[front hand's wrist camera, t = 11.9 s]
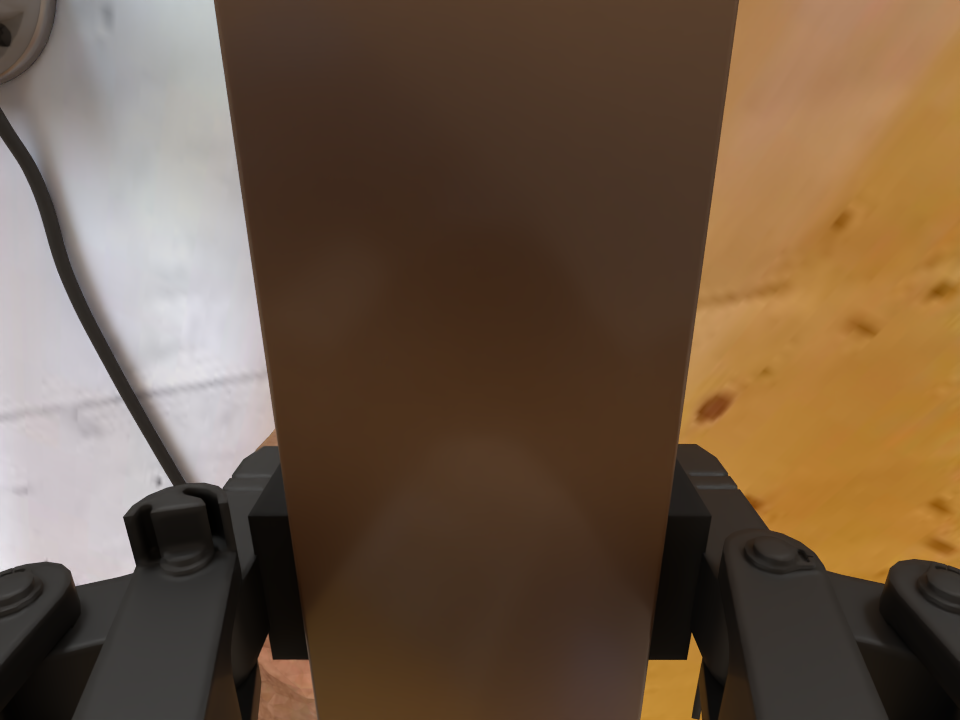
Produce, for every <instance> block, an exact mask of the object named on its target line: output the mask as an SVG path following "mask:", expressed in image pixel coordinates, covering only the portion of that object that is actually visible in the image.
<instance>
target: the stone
mask: <svg viewBox="0 0 960 720" xmlns="http://www.w3.org/2000/svg"><path fill="white" fill-rule="evenodd" d="M263 446H278V442H277V435H276V429H275V430H274V431H273V432H272V433H271V435H270V436H269V437H268V438H267V439H266V440H265V441H264V442H263V443H262V444H261V445H260V446H259V447H258V448H257V449H256V451H257V450H258V449H260V448H261V447H263ZM258 663H259V668H260V675H261V681H262V684H261V694H260V704H259V714H258V720H317V713H316V707H315V700H314V693H313V686H312V679H311V672H310V665H309V660H273V658H272V652H271V647H270V641H269V635H268V636H267V638H266V640H265V643H264V645H263V647H262V650H261V652H260V654H259V657H258Z"/></svg>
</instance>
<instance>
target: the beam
mask: <svg viewBox="0 0 960 720" xmlns="http://www.w3.org/2000/svg"><path fill="white" fill-rule="evenodd" d="M738 4H739V0H214V5H215V12H216V18H217V25H218V32H219V39H220V46H221V53H222V60H223V67H224V74H225V81H226V88H227V95H228V102H229V109H230V116H231V123H232V130H233V137H234V144H235V151H236V157H237V164H238V171H239V178H240V185H241V192H242V199H243V206H244V213H245V220H246V227H247V234H248V241H249V248H250V255H251V262H252V269H253V276H254V283H255V290H256V296H257V303H258V310H259V317H260V324H261V331H262V338H263V345H264V352H265V359H266V366H267V373H268V380H269V387H270V394H271V401H272V408H273V415H274V422H275V429H276V435H277V442H278V449H279V456H280V463H281V470H282V477H283V484H284V491H285V498H286V505H287V512H288V519H289V526H290V533H291V540H292V547H293V554H294V561H295V568H296V574H297V581H298V588H299V595H300V602H301V609H302V616H303V623H304V630H305V637H306V644H307V651H308V658H309V665H310V672H311V679H312V686H313V693H314V700H315V707H316V713H317V720H640V718H641V710H642V703H643V696H644V689H645V681H646V674H647V667H648V659H649V652H650V645H651V638H652V630H653V623H654V616H655V608H656V601H657V594H658V586H659V579H660V572H661V565H662V557H663V550H664V543H665V535H666V528H667V521H668V514H669V506H670V499H671V492H672V484H673V477H674V470H675V463H676V455H677V448H678V441H679V433H680V426H681V419H682V412H683V404H684V397H685V390H686V382H687V375H688V368H689V361H690V353H691V346H692V339H693V331H694V324H695V317H696V310H697V302H698V295H699V288H700V280H701V273H702V266H703V259H704V251H705V244H706V237H707V229H708V222H709V215H710V208H711V200H712V193H713V186H714V178H715V171H716V164H717V157H718V149H719V142H720V135H721V127H722V120H723V113H724V106H725V98H726V91H727V84H728V76H729V69H730V62H731V55H732V47H733V40H734V33H735V25H736V18H737V11H738Z"/></svg>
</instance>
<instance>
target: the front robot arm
mask: <svg viewBox="0 0 960 720" xmlns="http://www.w3.org/2000/svg"><path fill="white" fill-rule="evenodd" d="M55 9H56V0H0V84H2V83H5V82H7V81H9V80H11V79H13V78H15V77H17V76H18V75H20V74H21V73H23V72H24V71H25V70H26V69H28V68H29V67H30V66H31V65H32V64H33V63H34V61H35V60H36V59H37V58H38V56H39V55H40V53H41V52H42V50H43V48H44V47H45V45H46V43H47V40H48V38H49V36H50V33H51V29H52V26H53V22H54V16H55ZM0 136H1V138H2V139H3V141H4V142H5V144H6V145H7V147H8V148H9V150H10V151H11V153H12V154H13V156H14V157H15V159H16V160H17V162H18V163H19V165H20V167H21V168H22V170H23V172H24V174H25V176H26V178H27V181H28V183H29V185H30V187H31V190H32V192H33V194H34V197H35V200H36V202H37V205H38V208H39V211H40V214H41V218H42V221H43V225H44V228H45V232H46V236H47V239H48V243H49V246H50V250H51V253H52V256H53V259H54V262H55V265H56V268H57V271H58V273H59V276H60V278H61V281H62V283H63V285H64V288H65V290H66V292H67V294H68V297H69V299H70V301H71V303H72V305H73V307H74V309H75V311H76V313H77V315H78V317H79V319H80V321H81V323H82V325H83V327H84V329H85V331H86V333H87V335H88V337H89V338H90V340H91V342H92V344H93V346H94V348H95V349H96V351H97V353H98V355H99V357H100V359H101V360H102V362H103V364H104V366H105V368H106V370H107V372H108V373H109V375H110V377H111V379H112V381H113V383H114V384H115V386H116V388H117V390H118V392H119V393H120V395H121V397H122V399H123V401H124V402H125V404H126V406H127V408H128V409H129V411H130V413H131V414H132V416H133V418H134V420H135V421H136V423H137V425H138V427H139V428H140V430H141V432H142V433H143V435H144V437H145V438H146V440H147V442H148V444H149V445H150V447H151V449H152V450H153V452H154V454H155V456H156V457H157V459H158V461H159V462H160V464H161V466H162V467H163V469H164V471H165V472H166V474H167V476H168V477H169V479H170V481H171V482H172V484H173V487H168V488H165V489H163V490H160V491H158V492H155V493H153V494H150V495H148V496H146V497H145V498H143V499H142V500H140V501H139V502H137V503H136V504H134V505H133V506H132V507H131V508H130V509H129V511H128V512H127V513H126V514H125V515H124V517H123V518H124V522H125V526H126V530H127V533H128V537H129V541H130V544H131V548H132V552H133V556H134V559H135V563H136V568H135V570H134V573H132V574H128V575H125V576H121V577H117V578H112V579H108V580H103V581H98V582H94V583H89V584H84V585H80V586H75V584H74V581H73V578H72V575H71V571H70V570H69V569H67V568H66V567H65V566H64V565H62V564H59V563H52V562H40V563H32V564H25V565H21V566H17V567H15V568H11V569H8V570H5V571H2V572H0V720H258V714H259V704H260V694H261V684H262V681H261V675H260V668H259V663H258V657H259V654H260V652H261V650H262V647H263V645H264V643H265V640H266V638H267V636H268V635H269V641H270V647H271V652H272V658H273V660H309V658H308V651H307V644H306V637H305V630H304V623H303V616H302V609H301V602H300V595H299V588H298V581H297V574H296V568H295V561H294V554H293V547H292V540H291V533H290V526H289V519H288V512H287V505H286V498H285V491H284V484H283V477H282V470H281V463H280V456H279V449H278V446H263V447H261V448H260V449H258V450H257V451H255V452H254V453H252V454H251V455H249V456H248V457H246V458H245V459H243V461H242V462H241V464H240V465H239V466H238V468H237V469H236V470H235V472H234V473H233V475H232V478H230V479H229V480H228V481H227V483H226V484H225V486H224V487H223V490H222V489H221V488H220V487H219V486H216V485H211V484H207V483H185V481H184V479H183V477H182V476H181V474H180V472H179V471H178V469H177V467H176V466H175V464H174V462H173V461H172V459H171V457H170V455H169V454H168V452H167V450H166V448H165V447H164V445H163V443H162V441H161V440H160V438H159V436H158V434H157V433H156V431H155V429H154V428H153V426H152V424H151V422H150V421H149V419H148V417H147V415H146V414H145V412H144V410H143V408H142V407H141V405H140V403H139V401H138V399H137V398H136V396H135V394H134V392H133V391H132V389H131V387H130V385H129V383H128V381H127V380H126V378H125V376H124V374H123V372H122V370H121V368H120V366H119V365H118V363H117V361H116V359H115V357H114V355H113V353H112V351H111V350H110V348H109V346H108V344H107V342H106V340H105V338H104V336H103V335H102V333H101V331H100V329H99V327H98V325H97V323H96V321H95V319H94V317H93V315H92V313H91V311H90V309H89V307H88V305H87V303H86V301H85V298H84V296H83V294H82V292H81V289H80V287H79V285H78V282H77V280H76V278H75V275H74V273H73V270H72V267H71V264H70V262H69V259H68V255H67V252H66V249H65V245H64V242H63V238H62V234H61V231H60V227H59V223H58V220H57V216H56V213H55V209H54V206H53V203H52V200H51V198H50V195H49V192H48V190H47V187H46V185H45V182H44V180H43V178H42V176H41V173H40V171H39V169H38V167H37V166H36V164H35V162H34V160H33V159H32V157H31V155H30V154H29V152H28V151H27V149H26V148H25V146H24V145H23V143H22V142H21V140H20V139H19V137H18V136H17V134H16V132H15V131H14V129H13V128H12V126H11V124H10V123H9V121H8V120H7V118H6V116H5V115H4V113H3V111H2V110H1V108H0ZM691 633H692V634H693V636H694V638H695V641H696V643H697V645H698V648H699V650H700V652H701V655H702V657H703V658H702V663H701V668H700V674H699V679H698V684H697V690H696V695H695V700H694V706H693V712H692V718H694V719H698V720H699V719H700V714H701V712H702V720H960V569H957V568H954V567H952V566H949V565H948V566H947V565H945V564H942V563H937V562H933V561H925V560H918V559H912V560H905V561H899V562H897V563H896V564H895V565H893V566H892V567H891V568H890V570H889V573H888V576H887V579H886V582H885V584H882V583H878V582H873V581H868V580H864V579H859V578H854V577H850V576H845V575H840V574H837V573H833V572H830V571H826V569H825V567H824V565H823V564H822V562H821V561H820V559H819V558H818V557H817V555H816V554H815V553H814V552H813V551H812V550H810V549H809V548H808V547H806V546H805V545H804V544H802V543H801V542H799V541H797V540H795V539H793V538H791V537H789V536H787V535H784V534H782V533H778V532H774V531H770V530H769V529H768V527H767V526H766V525H765V523H764V522H763V520H762V519H761V518H760V516H759V515H758V514H757V512H756V511H755V510H754V508H753V507H752V505H751V504H750V503H749V501H748V500H747V499H746V497H745V496H744V495H743V493H742V492H741V490H740V489H737V485H736V484H735V482H734V481H733V480H732V478H731V477H730V476H728V473H727V471H726V470H725V469H724V467H723V466H722V465H721V463H720V462H719V460H718V459H717V458H716V457H715V456H713V455H712V454H710V453H709V452H707V451H706V450H704V449H703V448H701V447H700V446H698V445H697V444H678V448H677V455H676V463H675V470H674V477H673V484H672V492H671V499H670V506H669V514H668V521H667V528H666V535H665V543H664V550H663V557H662V565H661V572H660V579H659V586H658V594H657V601H656V608H655V616H654V623H653V630H652V638H651V645H650V652H649V659H648V660H687V656H688V650H689V644H690V639H691Z"/></svg>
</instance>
